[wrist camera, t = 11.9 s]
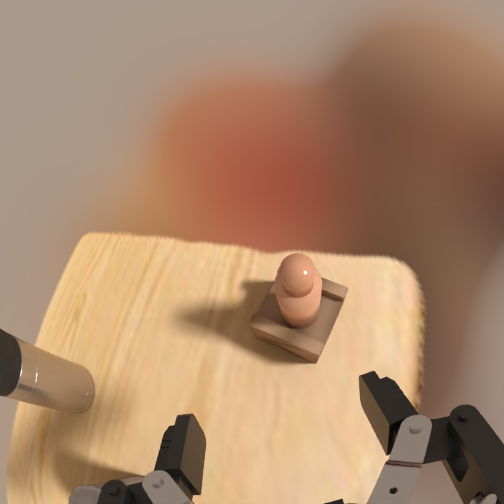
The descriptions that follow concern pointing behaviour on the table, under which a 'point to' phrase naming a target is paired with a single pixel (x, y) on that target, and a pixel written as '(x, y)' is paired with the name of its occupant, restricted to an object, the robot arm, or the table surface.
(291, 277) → the peg doll
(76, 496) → the pillar candle
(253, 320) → the pedestal
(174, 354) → the table surface
